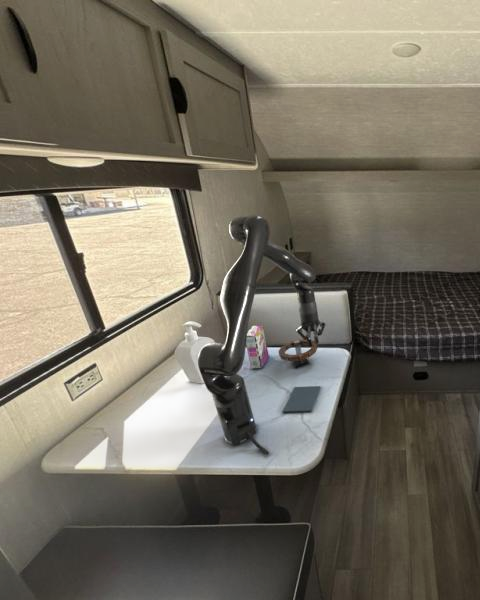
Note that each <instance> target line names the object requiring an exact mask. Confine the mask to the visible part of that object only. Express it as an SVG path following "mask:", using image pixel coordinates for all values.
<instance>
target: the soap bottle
mask: <svg viewBox="0 0 480 600" xmlns="http://www.w3.org/2000/svg"><path fill="white" fill-rule="evenodd" d="M184 326H185V331H186V332H185V333H184V337H185V339H183V340H182V341H181V342H179V344H178V345H177V346H176V348H175V350H174V354H173V356H174V358H175V359H176V361H177V363H178V365H179V366H180V368H181V369H182V372H184V375H185V376H186V378H187V380H188V382H190V383H195V384H196V383H197V384H199V383H200V384H205V383H204V381H203V378H202V376H201V373H200V370H199V367H198V355H199V352H200V350H201V349H202V348H203V347H204V346H205V345H207V344H209V343H216V342H215V340H214V339H213V338H211V337H206V336H198V333H197V330H194V329H193V327H196V328H198V329H199V328H201V327H202V326H203V325H201V323H198V322H196V321H191V320H189V321H187V322H185V323H183V324H181V325H179V327H180V328H182V327H184Z"/></svg>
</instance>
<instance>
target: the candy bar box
mask: <svg viewBox="0 0 480 600" xmlns="http://www.w3.org/2000/svg"><path fill="white" fill-rule="evenodd" d="M246 351H247V352H246V353H247V356H248V360H249V361H248V362H249V365H250V369H251V370H255V369H256V370H257V369H259V370H260V369H263V367H264V365H265V363H266V361H267V359H268V358H269V350H268V345H267V339H266V335H265V329H264V325H263V324H262V325H252V326H251V327H250V328H249V330H247V339H246Z"/></svg>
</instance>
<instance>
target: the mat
mask: <svg viewBox="0 0 480 600" xmlns="http://www.w3.org/2000/svg"><path fill="white" fill-rule="evenodd" d="M320 389H321V385H312V386H294V388H293V390H292V392H291V394H290V396H289V398H288V400H287V403H286V404H285V407H284V408H283V410H282V412H283V414H293V413H295V414H297V413H312V410H313V408H314V407H315V403H316V400H317V397H318V395H319V392H320Z"/></svg>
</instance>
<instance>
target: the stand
mask: <svg viewBox="0 0 480 600" xmlns="http://www.w3.org/2000/svg"><path fill="white" fill-rule="evenodd" d="M295 340H296V341H295ZM295 340H293V341H294V344H295V347H294V350H295V355H298V354H301V353H303V352H302V345H300V341H299V340H300V339H295ZM291 362H292V365H293V366H294V367H295V369H298V368H301V367H304V366H307V365H310V361H309V359H308V358H306V359H303V360H299V361H291Z"/></svg>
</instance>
